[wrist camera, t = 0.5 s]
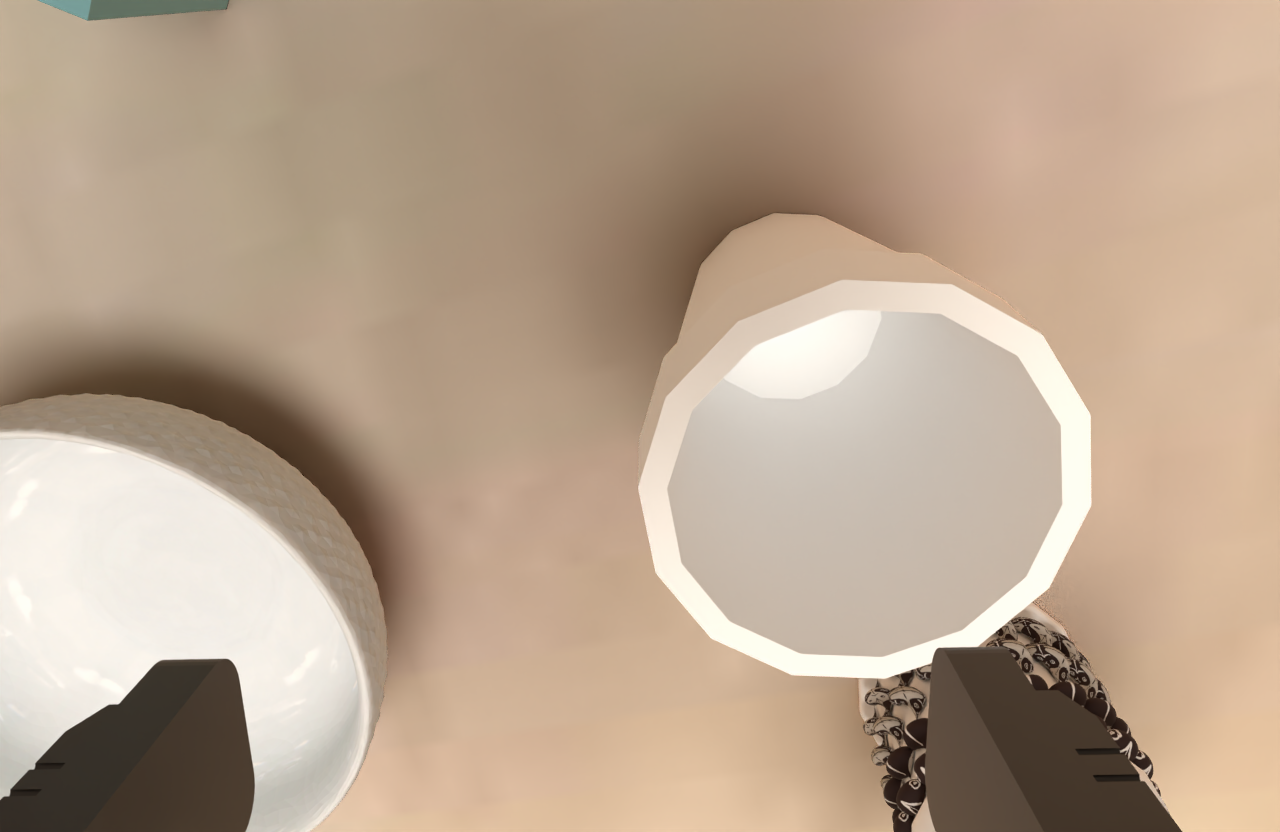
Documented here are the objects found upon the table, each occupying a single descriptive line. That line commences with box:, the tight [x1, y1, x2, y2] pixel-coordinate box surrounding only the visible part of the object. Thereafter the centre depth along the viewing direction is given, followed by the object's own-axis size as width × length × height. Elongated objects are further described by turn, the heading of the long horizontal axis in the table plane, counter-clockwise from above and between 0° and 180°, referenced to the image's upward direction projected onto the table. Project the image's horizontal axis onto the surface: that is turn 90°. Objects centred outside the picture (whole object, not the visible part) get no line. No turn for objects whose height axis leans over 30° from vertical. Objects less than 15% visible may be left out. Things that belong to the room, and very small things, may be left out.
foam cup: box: [638, 213, 1091, 679], centre depth 27 cm, size 10×9×13 cm
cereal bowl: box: [0, 393, 388, 832], centre depth 34 cm, size 17×17×7 cm
